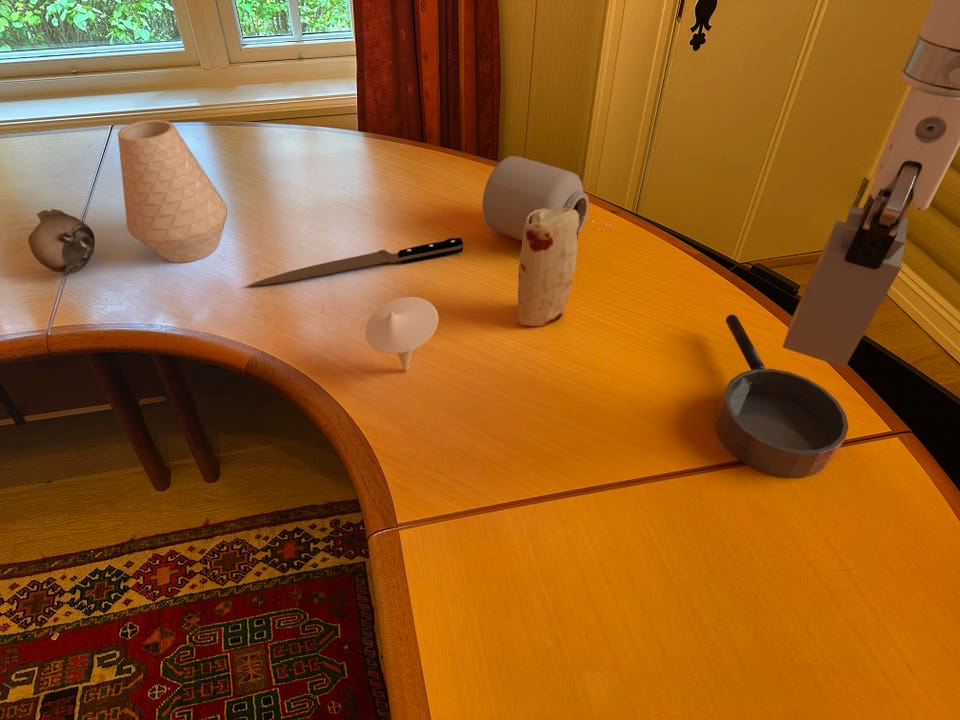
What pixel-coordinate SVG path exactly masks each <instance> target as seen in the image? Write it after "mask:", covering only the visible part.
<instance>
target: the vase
mask: <svg viewBox="0 0 960 720" xmlns="http://www.w3.org/2000/svg"><path fill="white" fill-rule="evenodd" d="M117 141H118V148H119V149H118V150H119V160H120V171H121V180H122V189H123V199H124V209H125V217H126V218H125V219H126V220H125V221H126V228H127V230H128V232H129V234H130V235H131V236H132V237H133V238H135V239H136V240H137V241H138V242H140V243H141V244H143V245H144V246H145V247H147V248H148V250H151V251H152V252H153V253H155V254H156V255H157V256H158V257H160V258H161V259H162V260H165V261H166V262H169V263H177V264H178V263H179V264H181V263H182V264H183V263H185V264H186V263H192V262H195V261H199V260H202V259H205V258H207V257H209V256H210V255H212V254H213V253H214V252H215V251H216V250H217V249H218V248H219V246H220V243H221V239H222V236H223V231H224V228H225V224H226V221H227V217H228V213H229V212H228V206H227V203H226V202H225V201H224V199H223V197H222V196H221V195H220V193H219V192H218V190H217V189H216V187H215V185H214V184H213V182H212V181H211V179H210V177H209V176H208V174H207V173H206V172H205V171H204V169H203V167H202V166H201V164H200V163H199V161H198V159H196V156H195V155H194V153H193V152H192V151H191V149H190V148H189V146H188V144H187V143H186V141H185V140H184V138H183V137H182V136H181V134H180V132H179V130H178V129H177V128H176V127H175V125H174V124H173V123H172V122H171V121H168V120H165V119H145V120H140V121H136V122H132V123H129V124H127V125H125V126H123V127H121V128H120V129H119V130H118V132H117Z"/></svg>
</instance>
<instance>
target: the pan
mask: <svg viewBox="0 0 960 720" xmlns="http://www.w3.org/2000/svg"><path fill="white" fill-rule="evenodd" d="M714 420H715V421H714V424H715V430H716V433H717V435H718V437H719V439H720V441H721V442H722V444H723V446H724V447H725V448H726V449H727V450H728V451H729V452H730V453H731V454H732V455H733V456H734V457H736V458H737V459H738V460H739V461H740V462H741V463H743V464H745V465H747V466H749V467H750V468H752V469H754V470H756V471H759V472H762V473H764V474H767V475H770V476H774V477H777V478H778V477H779V478H785V479H786V478H787V479H801V478H802V479H803V478H808V477H811V476H813V475H817V474H818V473H820V472H822V471H823V470H824V469H825V468H827V466H828V465H829V464H830V463H831V462H832V461H833V459H834V457H835V456H836V454H837V452H838V451H839V450H840V448H841V446H842V444H843V443H844V442H845V440H846V439H847V434H848V430H849V422H848V418H847V414H846V412H845V410H844V409H843V407H842V406H841V404H840V403H839V401H838V400H837V399H836V398H835V397H834V396H833V395H832V394H831V393H829V392H828V391H827V390H826V388H824V387H822V386H820V385H819V384H817V383H816V382H814V381H812V380H811V379H809V378H807V377H804V376H802V375H799V374H796V373H793V372H790V371H786V370H781V369H776V368H765V369H753V370H751V369H750V370H747V371H743V372H740V373H739V374H737V375H735V376H734V377H733V378H731V379H730V380H729V382H728V384H727V385H726V387H725V389H724V392H723V394H722V397H721V399H720V402H719V404H718V407H717V410H716V412H715V418H714Z"/></svg>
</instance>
